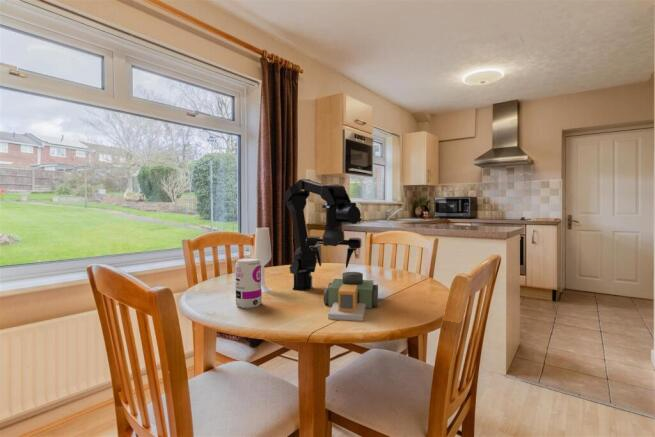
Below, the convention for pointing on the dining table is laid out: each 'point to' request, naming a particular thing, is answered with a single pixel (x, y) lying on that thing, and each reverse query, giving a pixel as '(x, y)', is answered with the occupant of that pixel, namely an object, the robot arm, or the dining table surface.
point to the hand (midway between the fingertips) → (333, 266)
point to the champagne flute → (263, 252)
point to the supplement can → (248, 282)
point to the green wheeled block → (365, 296)
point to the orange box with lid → (347, 298)
